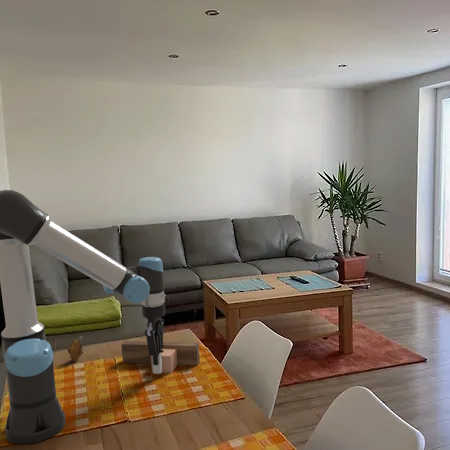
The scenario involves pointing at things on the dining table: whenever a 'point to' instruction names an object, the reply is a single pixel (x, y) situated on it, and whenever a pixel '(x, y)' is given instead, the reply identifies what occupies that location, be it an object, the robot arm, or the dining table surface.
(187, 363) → the walnut rail
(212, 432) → the dining table surface
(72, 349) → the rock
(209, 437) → the dining table surface
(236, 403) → the dining table surface
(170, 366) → the block
